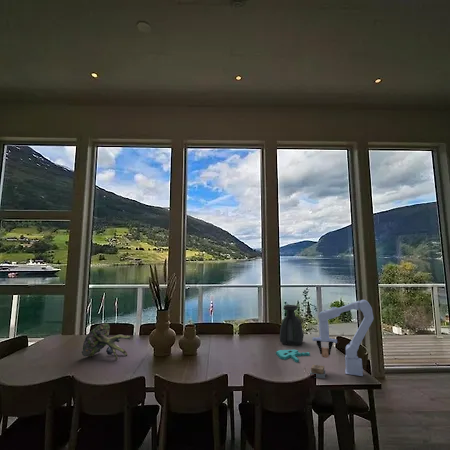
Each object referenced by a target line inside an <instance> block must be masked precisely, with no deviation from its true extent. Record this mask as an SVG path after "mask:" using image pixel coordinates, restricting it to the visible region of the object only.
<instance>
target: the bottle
mask: <svg viewBox="0 0 450 450" xmlns="http://www.w3.org/2000/svg"><path fill="white" fill-rule="evenodd" d="M283 310H284V311H287V312H286V315H285V317H284V318H283V319H282V320H281V324H280V330H279V337H278V338H279V341H280V343H281V344H283V345H290V346H291V345H292V346H300V345H302V343H303V341H304V330H303V324H302V322H301V319H300V318H299V317H298V316H297V315H296V312H295V311H296V310H298V305H296V304H285V305H283Z"/></svg>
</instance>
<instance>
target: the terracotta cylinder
mask: <svg viewBox="0 0 450 450" xmlns="http://www.w3.org/2000/svg"><path fill="white" fill-rule="evenodd" d="M321 352H322V354H321V357H322V358H324V359H325V358H327V359H328V358H330V355H329V347H326V346H321Z"/></svg>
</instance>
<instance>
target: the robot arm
mask: <svg viewBox="0 0 450 450" xmlns="http://www.w3.org/2000/svg"><path fill="white" fill-rule="evenodd" d="M352 310H357V311H359V310H360V312H362V315H363V319H362V320H361V322H360V323H359V327H358V328H357V330H356V332H355V333H354V336H353V337H352V339H351V340H350V342H349V343H348V344H346V346H345V348H344V349H345V355H344V357H345V359H344V362H345V370H344V372H345V373H344V374H345V375H352V376H357V377H359V376H360V377H363V376H364V368H363V360H362V358H361V357H359V356H358V351H359V348H360V345H361V343H362V341H363V340H364V338H365V336H366V334H367V332H368V331H369V329H370V327H371V325H372V323H373V321H374V319H375V317H374V312H373V307H372V306H371V304H370V303H369V301H368V300H366V299H360V300H355V301H352V302H350V303H348V304H345V305H343V306H340V307H336V306H331V308H328V309H324V310H322V311H319V314H318V322H319V323H318V329H319V331H318V332H319V337H314V336H313V337H312V338H311V340H312V342H316V346H317V348H318V349H319V353H320V355H322V352H321V348H322V343H328V348H329V356H330V355H331V351H332V348H333V345H334V344H337V343H338V339H337V338H336V339H335V338H330V327H329V320H331V319H335V318H337V317H340V316H341V314H342V313H344V312H345V313H346V312H349V311H352Z"/></svg>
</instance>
